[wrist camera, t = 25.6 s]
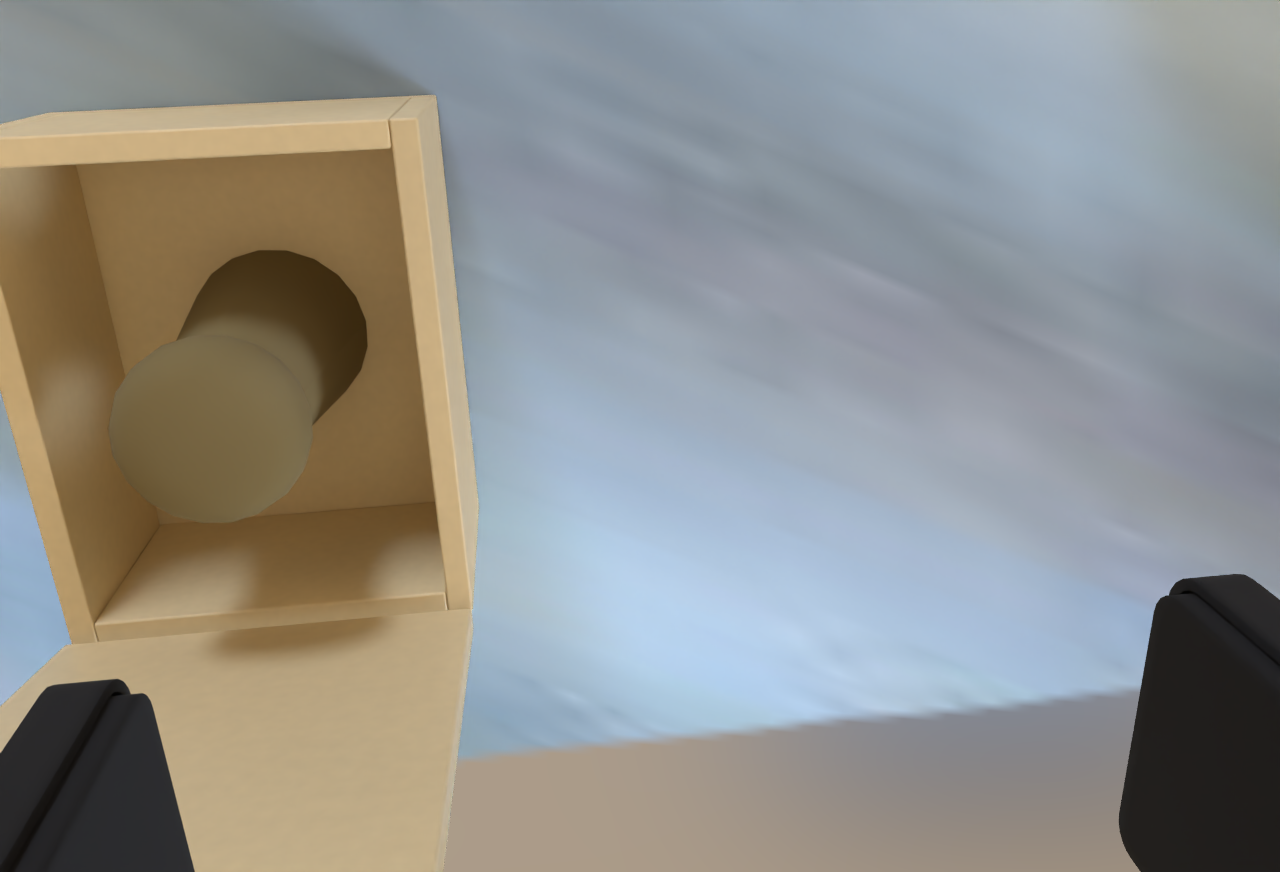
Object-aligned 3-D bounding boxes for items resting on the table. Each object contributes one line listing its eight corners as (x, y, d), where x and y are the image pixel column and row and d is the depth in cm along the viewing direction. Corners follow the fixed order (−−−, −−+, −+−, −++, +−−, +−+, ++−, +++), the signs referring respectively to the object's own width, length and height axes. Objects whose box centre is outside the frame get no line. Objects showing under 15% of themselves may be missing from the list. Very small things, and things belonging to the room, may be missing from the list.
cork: (187, 401, 38) (72, 544, 28) (195, 235, 36) (71, 325, 26) (359, 423, 39) (307, 569, 29) (376, 264, 37) (326, 361, 27)
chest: (48, 112, 35) (-71, 140, 28) (436, 94, 36) (418, 117, 29) (149, 534, 41) (72, 648, 34) (479, 507, 42) (473, 611, 35)
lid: (-364, 1046, 17) (-292, 1286, 18) (425, 952, 18) (451, 1182, 19) (64, 644, 33) (90, 783, 34) (471, 607, 34) (484, 743, 35)
